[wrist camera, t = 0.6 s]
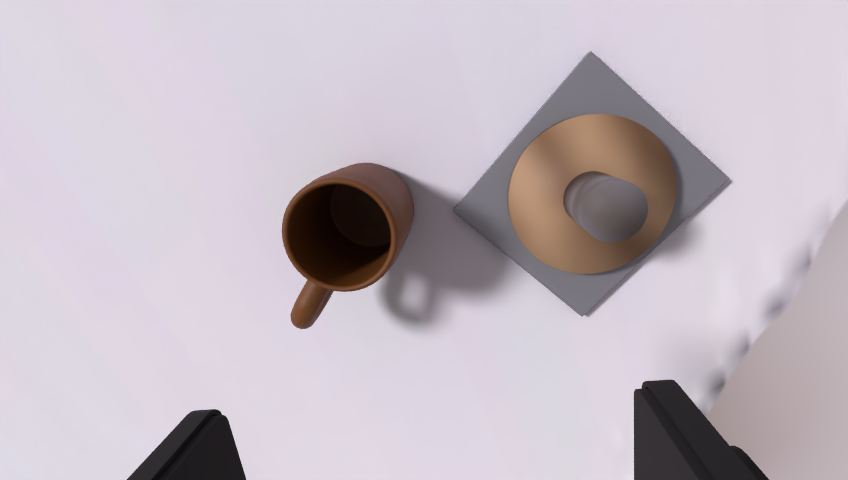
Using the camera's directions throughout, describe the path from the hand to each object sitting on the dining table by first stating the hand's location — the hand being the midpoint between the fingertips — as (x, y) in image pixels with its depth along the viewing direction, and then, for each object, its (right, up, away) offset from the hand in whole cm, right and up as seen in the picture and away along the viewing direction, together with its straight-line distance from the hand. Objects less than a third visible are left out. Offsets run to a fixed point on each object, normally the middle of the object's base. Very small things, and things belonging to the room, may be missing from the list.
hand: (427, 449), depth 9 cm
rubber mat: (+12, +8, +23) cm, 28 cm away
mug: (-6, +6, +26) cm, 27 cm away
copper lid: (+12, +8, +23) cm, 27 cm away
